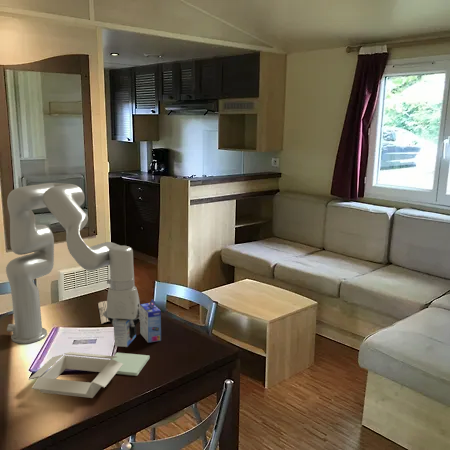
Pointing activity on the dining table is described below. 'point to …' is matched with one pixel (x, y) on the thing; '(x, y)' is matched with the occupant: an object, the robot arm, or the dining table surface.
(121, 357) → the plate
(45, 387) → the carton
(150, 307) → the ink cartridge box
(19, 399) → the dining table surface
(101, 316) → the newspaper
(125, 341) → the medicine box
